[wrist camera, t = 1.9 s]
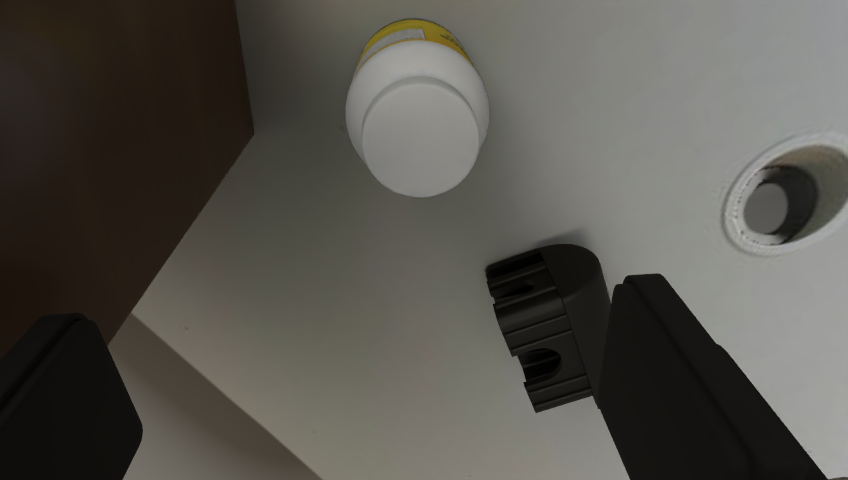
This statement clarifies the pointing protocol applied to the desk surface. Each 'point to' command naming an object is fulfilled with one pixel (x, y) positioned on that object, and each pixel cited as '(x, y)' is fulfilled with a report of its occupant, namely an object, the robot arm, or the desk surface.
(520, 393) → the desk surface
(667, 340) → the robot arm
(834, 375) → the desk surface
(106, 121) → the stand
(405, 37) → the pill bottle
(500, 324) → the end cap
